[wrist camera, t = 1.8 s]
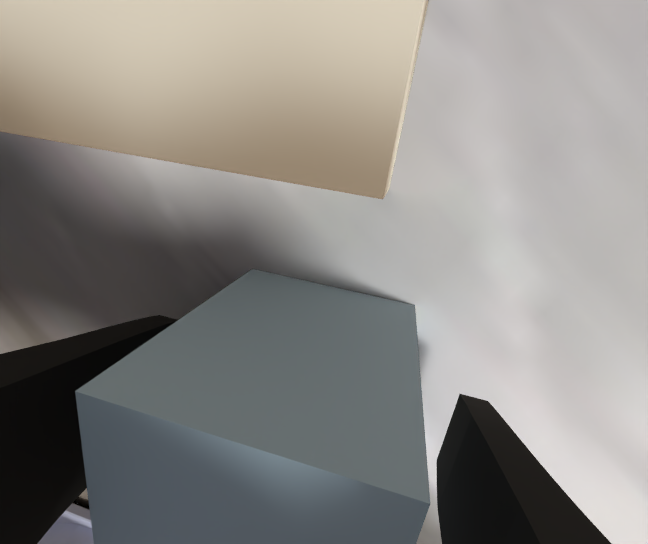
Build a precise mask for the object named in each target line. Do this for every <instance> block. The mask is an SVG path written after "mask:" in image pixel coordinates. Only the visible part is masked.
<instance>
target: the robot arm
mask: <svg viewBox="0 0 648 544" xmlns="http://www.w3.org/2000/svg"><path fill="white" fill-rule="evenodd" d="M176 321H178V320H176V319H172V318H168V317H164V316H161V315H158V316H152V317H147V318H142V319H138V320H134V321H129V322H126V323H122V324H118V325H114V326H110V327H106V328H103V329H99V330H95V331H91V332H88V333H84V334H80V335H76V336H73V337H69V338H65V339H61V340H57V341H53V342H49V343H45V344H41V345H37V346H33V347H28V348H24V349H20V350H16V351H12V352H8V353H4V354H0V544H94V541H93V533H92V525H91V517H90V510H89V509H86V508H84V507H81V506H79V505H76V504H73V502H74V501H75V500H76V498H77V497H78V496H79V495H80V494H81V493H82V492H83V491H84V490H85V489H86V488H87V484H86V476H85V468H84V460H83V451H82V443H81V435H80V427H79V419H78V411H77V402H76V394H75V391H76V390H78V389H79V388H80V387H82V386H83V385H85V384H86V383H88V382H89V381H91V380H92V379H94V378H95V377H96V376H98V375H99V374H101V373H102V372H104V371H105V370H107V369H108V368H109V367H111V366H112V365H114V364H115V363H117V362H118V361H120V360H121V359H123V358H124V357H125V356H127V355H128V354H130V353H131V352H133V351H134V350H136V349H137V348H138V347H140V346H141V345H143V344H144V343H146V342H147V341H149V340H150V339H152V338H153V337H154V336H156V335H157V334H159V333H160V332H162V331H163V330H165V329H166V328H167V327H169V326H170V325H172V324H173V323H175V322H176ZM437 503H438V515H439V523H440V530H441V538H442V544H611V543H610V542H609V541H608V539H607V538H606V537H605V536H604V535H603V534H602V533H601V532H600V531H599V530H598V529H597V528H596V526H595V525H594V524H593V523H592V522H591V521H590V520H589V519H588V518H587V517H586V516H585V515H584V513H583V512H582V511H581V510H580V509H579V508H578V507H577V506H576V504H575V503H574V502H573V501H572V500H571V499H570V498H569V497H568V495H567V494H566V493H565V492H564V491H563V490H562V489H561V487H560V486H559V485H558V484H557V483H556V482H555V480H554V479H553V478H552V477H551V476H550V475H549V473H548V472H547V471H546V470H545V469H544V468H543V466H542V465H541V464H540V463H539V462H538V460H537V459H536V458H535V457H534V456H533V454H532V453H531V452H530V451H529V450H528V448H527V447H526V446H525V445H524V444H523V442H522V441H521V440H520V439H519V438H518V436H517V435H516V434H515V433H514V431H513V430H512V429H511V428H510V427H509V425H508V424H507V423H506V422H505V421H504V419H503V418H502V417H501V416H500V415H499V413H498V412H497V411H496V410H495V409H494V408H493V406H492V405H491V404H490V403H489V402H488V401H485V400H481V399H477V398H474V397H470V396H466V395H462V394H460V395H459V398H458V401H457V404H456V407H455V410H454V412H453V415H452V418H451V421H450V424H449V427H448V430H447V433H446V435H445V438H444V441H443V444H442V447H441V450H440V453H439V456H438V458H437Z"/></svg>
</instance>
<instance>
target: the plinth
mask: <svg viewBox="0 0 648 544" xmlns="http://www.w3.org/2000/svg"><path fill="white" fill-rule="evenodd" d="M428 1H429V0H0V132H6V133H12V134H17V135H23V136H29V137H34V138H40V139H45V140H51V141H57V142H62V143H68V144H74V145H79V146H85V147H91V148H96V149H102V150H108V151H113V152H119V153H125V154H130V155H136V156H142V157H147V158H153V159H158V160H164V161H170V162H175V163H181V164H187V165H192V166H198V167H204V168H209V169H215V170H221V171H226V172H232V173H238V174H243V175H249V176H255V177H260V178H266V179H271V180H277V181H283V182H288V183H294V184H300V185H305V186H311V187H317V188H322V189H328V190H334V191H339V192H345V193H351V194H356V195H362V196H368V197H373V198H379V199H383V198H384V197H385V195H386V193H387V192H388V190H389V188H390V183H391V178H392V173H393V168H394V164H395V159H396V154H397V149H398V145H399V140H400V135H401V130H402V125H403V121H404V116H405V111H406V106H407V101H408V97H409V92H410V87H411V82H412V78H413V73H414V68H415V63H416V58H417V54H418V49H419V44H420V39H421V35H422V30H423V25H424V20H425V15H426V11H427V6H428Z"/></svg>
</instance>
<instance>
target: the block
mask: <svg viewBox="0 0 648 544" xmlns="http://www.w3.org/2000/svg"><path fill="white" fill-rule="evenodd" d="M75 394H76V402H77V411H78V419H79V427H80V435H81V443H82V451H83V460H84V468H85V476H86V484H87V492H88V500H89V508H90V517H91V525H92V533H93V541H94V544H416V542H417V539H418V536H419V534H420V531H421V528H422V525H423V522H424V520H425V517H426V514H427V511H428V508H429V506H430V495H429V482H428V469H427V456H426V443H425V430H424V417H423V404H422V391H421V378H420V365H419V352H418V339H417V326H416V313H415V305H412V304H407V303H403V302H398V301H394V300H389V299H385V298H380V297H376V296H371V295H367V294H363V293H358V292H354V291H349V290H345V289H340V288H336V287H331V286H327V285H322V284H318V283H314V282H309V281H305V280H300V279H296V278H291V277H287V276H282V275H278V274H274V273H269V272H265V271H260V270H256V269H252V270H250V271H249V272H247V273H246V274H244V275H243V276H241V277H240V278H239V279H237V280H236V281H234V282H233V283H231V284H230V285H228V286H227V287H225V288H224V289H223V290H221V291H220V292H218V293H217V294H215V295H214V296H212V297H211V298H210V299H208V300H207V301H205V302H204V303H202V304H201V305H199V306H198V307H196V308H195V309H194V310H192V311H191V312H189V313H188V314H186V315H185V316H183V317H182V318H181V319H179V320H178V321H176V322H175V323H173V324H172V325H170V326H169V327H167V328H166V329H165V330H163V331H162V332H160V333H159V334H157V335H156V336H154V337H153V338H152V339H150V340H149V341H147V342H146V343H144V344H143V345H141V346H140V347H138V348H137V349H136V350H134V351H133V352H131V353H130V354H128V355H127V356H125V357H124V358H123V359H121V360H120V361H118V362H117V363H115V364H114V365H112V366H111V367H109V368H108V369H107V370H105V371H104V372H102V373H101V374H99V375H98V376H96V377H95V378H94V379H92V380H91V381H89V382H88V383H86V384H85V385H83V386H82V387H80V388H79V389H78V390H76V391H75Z"/></svg>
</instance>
